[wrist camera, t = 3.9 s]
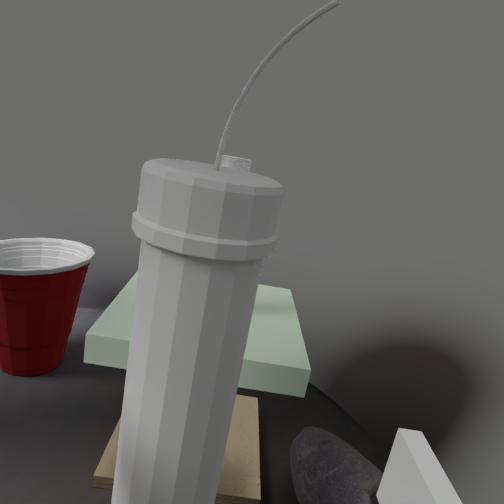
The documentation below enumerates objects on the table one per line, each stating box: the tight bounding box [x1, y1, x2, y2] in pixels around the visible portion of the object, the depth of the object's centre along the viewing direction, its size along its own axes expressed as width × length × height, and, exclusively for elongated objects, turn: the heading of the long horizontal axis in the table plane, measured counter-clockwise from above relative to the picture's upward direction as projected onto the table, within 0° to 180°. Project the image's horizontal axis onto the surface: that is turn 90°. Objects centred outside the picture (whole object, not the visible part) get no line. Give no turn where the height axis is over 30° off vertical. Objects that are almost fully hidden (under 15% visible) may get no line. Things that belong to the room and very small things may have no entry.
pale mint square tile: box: [83, 271, 311, 397], centre depth 33 cm, size 14×14×2 cm
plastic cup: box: [0, 238, 95, 376], centre depth 41 cm, size 11×11×12 cm
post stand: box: [92, 155, 261, 504], centre depth 32 cm, size 12×12×24 cm
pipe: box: [111, 0, 340, 504], centre depth 18 cm, size 6×6×30 cm
